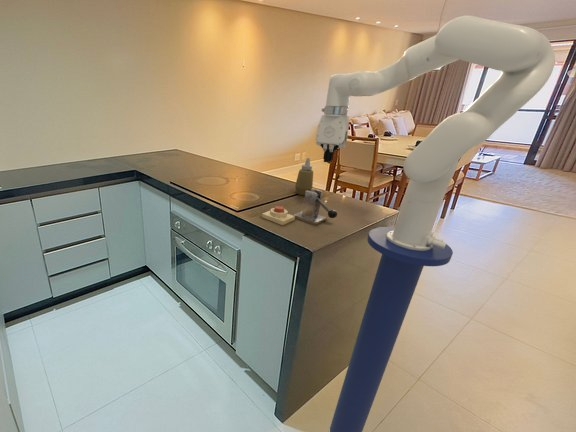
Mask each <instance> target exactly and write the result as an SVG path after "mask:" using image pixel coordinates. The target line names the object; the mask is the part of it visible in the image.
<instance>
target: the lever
mask: <svg viewBox="0 0 576 432" xmlns="http://www.w3.org/2000/svg"><path fill="white" fill-rule="evenodd" d="M311 192H315V193H317V192H316V191H315V190H314V191H311ZM318 196H319V194H318V193H317V198H316V201H317V202H318V203H319V204H320V207H322V208H323V209H324V210H325V212H327V217H328V218H330V219H335V218H337V216H338V212H337V211H336V210H335V209H331V208H330V207H328V205H326V203H324V201H322V199H321V200H320V199H319V198H318Z"/></svg>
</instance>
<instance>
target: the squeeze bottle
mask: <svg viewBox="0 0 576 432" xmlns="http://www.w3.org/2000/svg"><path fill="white" fill-rule="evenodd" d="M313 184H314V171H313V165H311V159H310V157H306V160H305V162H304V164H302V165H301V168H300V169H299V170H298V175H297V176H296V181H295V185H294V187H295V192H296V194H297V195H300V196H305V192H306V191H311V189H313V186H314V185H313Z"/></svg>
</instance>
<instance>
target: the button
mask: <svg viewBox="0 0 576 432" xmlns="http://www.w3.org/2000/svg"><path fill="white" fill-rule="evenodd" d="M274 208H275V209H274V212H278V213H283V212H284V209H285V207H284V206H281V205H276V206H274Z"/></svg>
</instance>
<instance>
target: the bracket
mask: <svg viewBox="0 0 576 432" xmlns="http://www.w3.org/2000/svg"><path fill="white" fill-rule="evenodd" d="M314 190H315V191H316V192H317V193H318V194H319V196H318V198H319V199H320V200H321V201H322V197H323V192H324V191H323V190H321V189H317V188H312V189H311V191H314ZM311 191H306V192H305V195H304V198H303V205H302V210H301V211H297V213H294V214H292V215H293V216H295V219H296V220H299V221H303V222H305V223H308V224H310V225H313V226H318V225H319V224H322V223H324V222H325V221H327V217H328V216H327V217H326V216H324V215H320V214H319V213H320V208H321V205H320V204H319V203H318V202H317V201H316V198H317V193H315V192H311Z"/></svg>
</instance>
